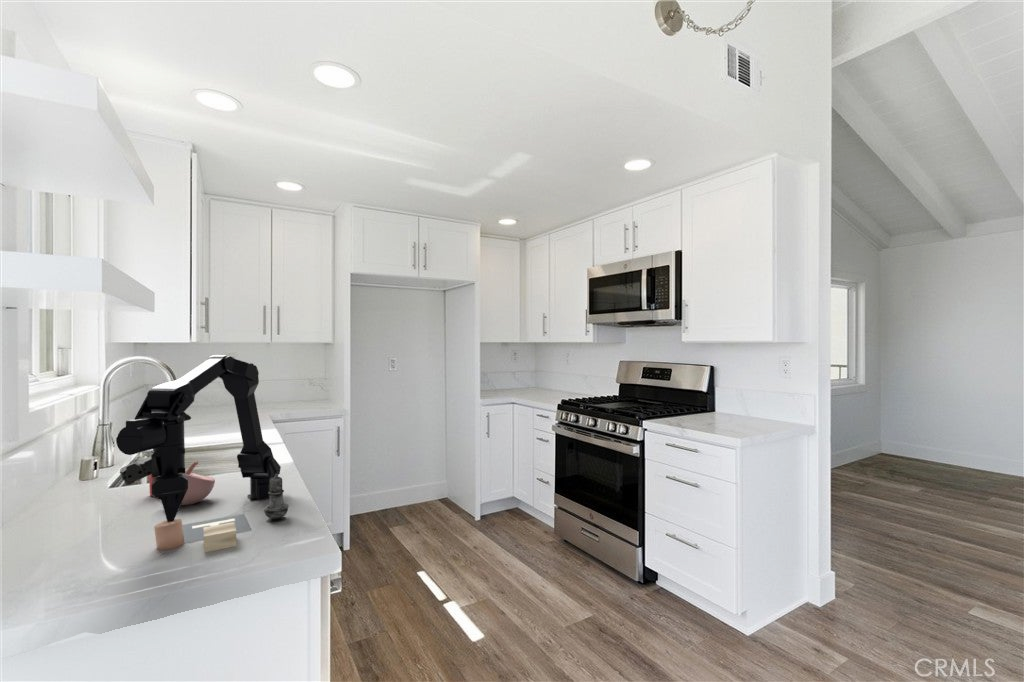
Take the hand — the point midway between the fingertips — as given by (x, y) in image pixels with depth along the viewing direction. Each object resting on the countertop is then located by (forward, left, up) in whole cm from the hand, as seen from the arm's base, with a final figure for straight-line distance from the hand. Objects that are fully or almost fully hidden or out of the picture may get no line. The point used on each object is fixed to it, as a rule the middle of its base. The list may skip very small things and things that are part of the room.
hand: (170, 515), depth 112 cm
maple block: (+6, +9, -7) cm, 13 cm away
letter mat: (-6, +9, -7) cm, 13 cm away
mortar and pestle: (-32, +5, -7) cm, 33 cm away
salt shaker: (-3, +22, -7) cm, 23 cm away
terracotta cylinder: (0, 0, -7) cm, 7 cm away
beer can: (-47, -1, -7) cm, 47 cm away
